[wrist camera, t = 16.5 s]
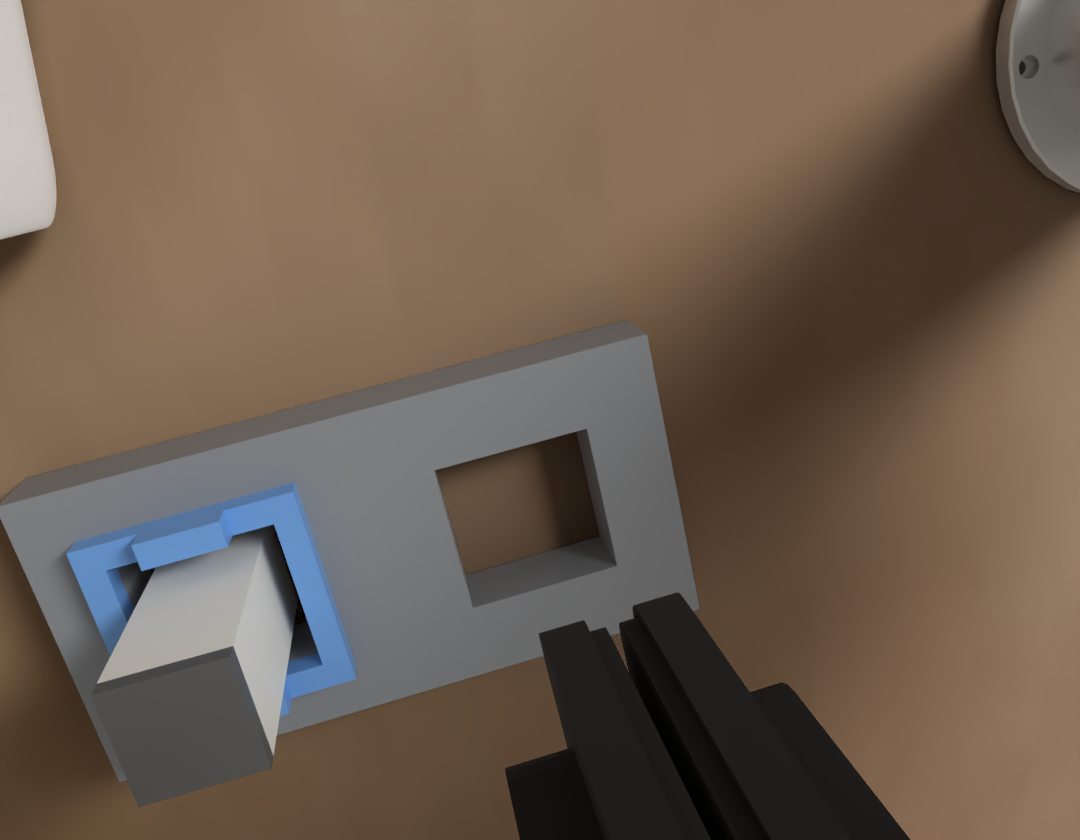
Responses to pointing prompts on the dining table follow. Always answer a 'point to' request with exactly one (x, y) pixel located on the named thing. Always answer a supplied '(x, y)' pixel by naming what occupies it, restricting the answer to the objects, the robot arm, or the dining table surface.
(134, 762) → the grey square peg
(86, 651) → the gray peg hole board
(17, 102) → the cable organizer
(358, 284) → the dining table surface
